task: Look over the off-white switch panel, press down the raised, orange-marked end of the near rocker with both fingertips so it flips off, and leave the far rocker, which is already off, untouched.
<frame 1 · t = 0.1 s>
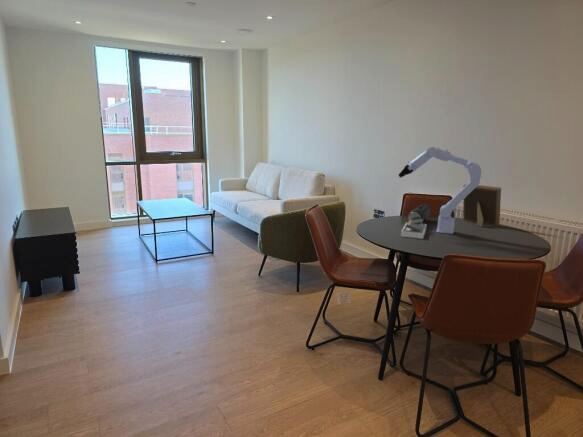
hand: (400, 175, 240), 32 cm above the table, tool tilted 50°, fingers open, 7 cm apart
photo frame: (477, 224, 259), on the table
switch panel: (413, 232, 233), on the table
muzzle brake: (418, 223, 259), on the table
near rocker: (414, 226, 227), point 5 cm above the table, hinge at -15.0°
far rocker: (415, 222, 237), point 5 cm above the table, hinge at 15.0°
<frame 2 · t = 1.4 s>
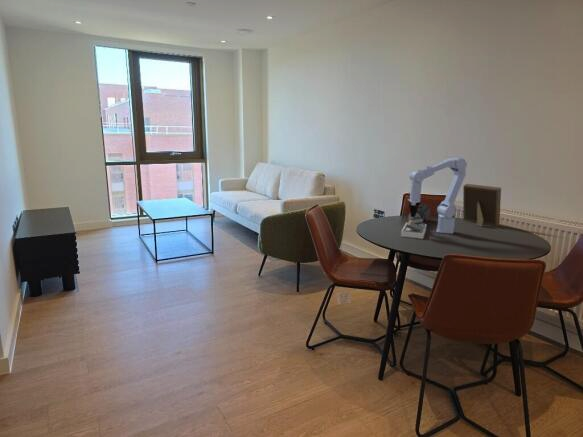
hand: (413, 215, 231), 10 cm above the table, tool pointing down, fingers open, 7 cm apart
nothing on the table moved.
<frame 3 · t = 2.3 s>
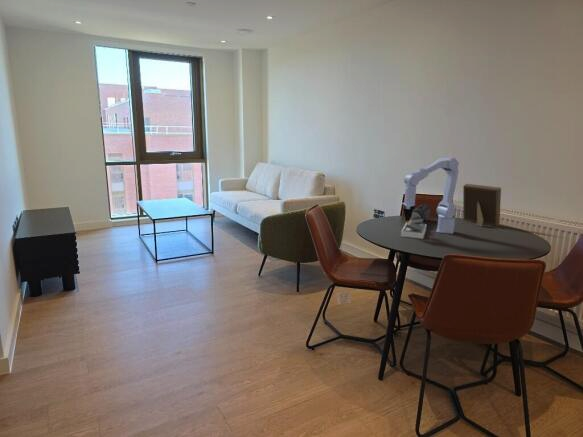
hand: (408, 219, 227), 9 cm above the table, tool pointing down, fingers open, 7 cm apart
nothing on the table moved.
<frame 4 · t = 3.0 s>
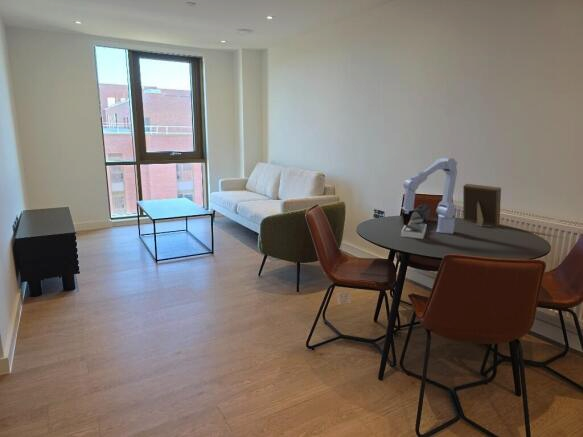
hand: (406, 223, 228), 6 cm above the table, tool pointing down
near rocker: (413, 226, 227), point 5 cm above the table, hinge at -13.0°, touching gripper
everything else where it was.
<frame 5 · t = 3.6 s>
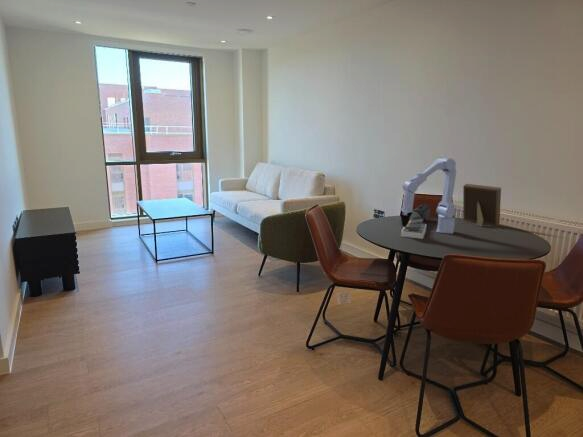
hand: (405, 225, 228), 5 cm above the table, tool pointing down
near rocker: (413, 226, 227), point 5 cm above the table, hinge at 5.8°, touching gripper
everything else where it was.
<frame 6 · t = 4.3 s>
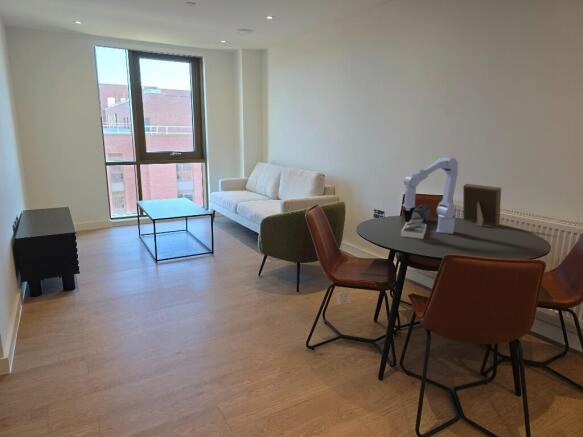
hand: (408, 220, 227), 8 cm above the table, tool pointing down, fingers open, 7 cm apart
near rocker: (413, 226, 227), point 5 cm above the table, hinge at 20.3°
everything else where it was.
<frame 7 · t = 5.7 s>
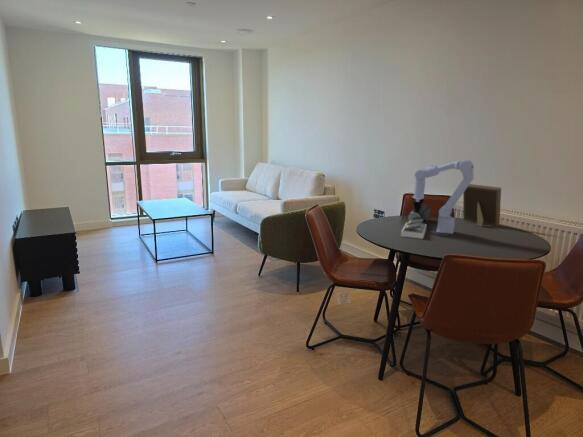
hand: (417, 211, 242), 10 cm above the table, tool pointing down, fingers open, 7 cm apart
near rocker: (413, 226, 227), point 5 cm above the table, hinge at 16.8°
everything else where it was.
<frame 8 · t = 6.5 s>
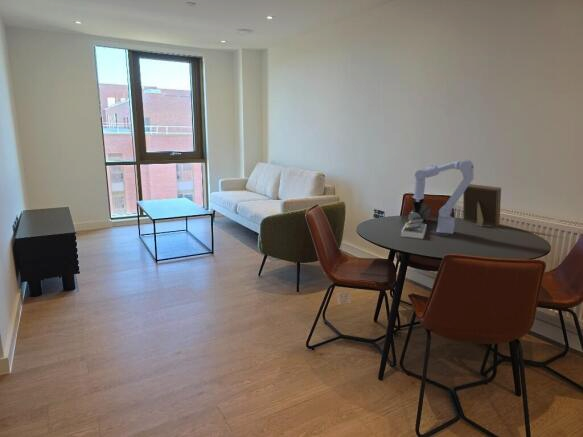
hand: (417, 211, 242), 10 cm above the table, tool pointing down, fingers open, 7 cm apart
near rocker: (413, 226, 227), point 5 cm above the table, hinge at 15.5°
everything else where it was.
at the end: near rocker at +15° (first picture: -15°); far rocker at +15° (first picture: +15°) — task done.
